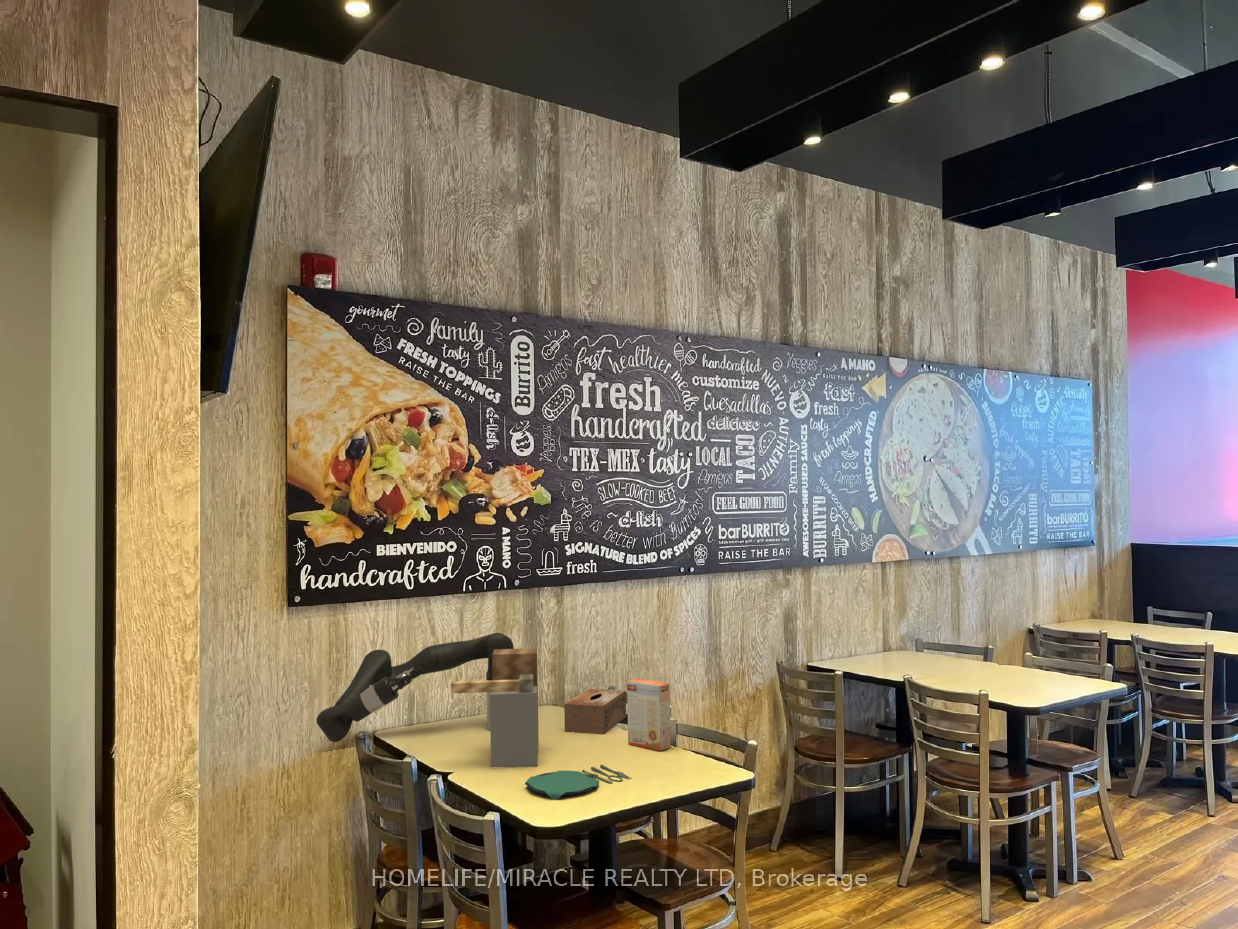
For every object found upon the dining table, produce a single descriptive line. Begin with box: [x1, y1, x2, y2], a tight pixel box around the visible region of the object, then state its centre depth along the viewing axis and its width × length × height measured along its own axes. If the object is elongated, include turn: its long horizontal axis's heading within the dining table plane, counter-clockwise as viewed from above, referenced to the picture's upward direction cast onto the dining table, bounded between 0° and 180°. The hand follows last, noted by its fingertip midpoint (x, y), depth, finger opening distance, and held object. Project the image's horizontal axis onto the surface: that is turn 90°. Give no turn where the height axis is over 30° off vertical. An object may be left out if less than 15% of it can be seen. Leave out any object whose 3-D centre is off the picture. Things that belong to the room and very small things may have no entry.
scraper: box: [450, 674, 533, 694], centre depth 277 cm, size 25×8×4 cm, turn 94°
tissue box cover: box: [563, 688, 627, 735], centre depth 323 cm, size 26×14×10 cm, turn 163°
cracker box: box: [626, 678, 672, 752], centre depth 292 cm, size 14×6×21 cm, turn 47°
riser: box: [492, 647, 540, 750], centre depth 289 cm, size 14×10×32 cm
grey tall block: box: [489, 686, 539, 768], centre depth 277 cm, size 14×10×22 cm
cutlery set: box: [524, 764, 633, 800], centre depth 255 cm, size 20×30×2 cm, turn 127°
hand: (424, 666), depth 282 cm, fingers open, 8 cm apart
